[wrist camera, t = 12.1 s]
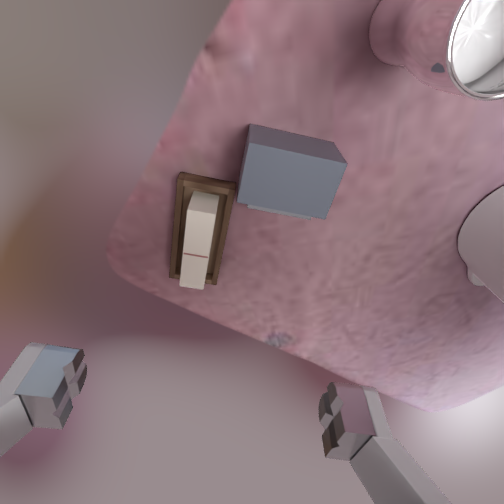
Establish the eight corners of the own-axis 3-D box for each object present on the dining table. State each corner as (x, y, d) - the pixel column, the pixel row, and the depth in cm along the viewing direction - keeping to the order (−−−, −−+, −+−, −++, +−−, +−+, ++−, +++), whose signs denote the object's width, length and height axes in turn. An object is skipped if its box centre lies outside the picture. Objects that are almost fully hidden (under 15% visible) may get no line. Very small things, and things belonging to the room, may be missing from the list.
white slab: (219, 195, 38) (215, 214, 34) (207, 267, 44) (203, 290, 40) (193, 190, 37) (187, 209, 34) (185, 263, 44) (179, 286, 40)
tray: (236, 182, 37) (235, 190, 36) (217, 275, 46) (216, 285, 44) (180, 171, 37) (177, 178, 35) (172, 268, 45) (169, 277, 43)
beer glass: (426, 73, 31) (540, 109, 19) (354, 67, 30) (422, 100, 18) (459, -23, 27) (631, -57, 14) (376, -30, 26) (481, -70, 14)
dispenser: (333, 142, 35) (347, 163, 29) (313, 198, 38) (322, 225, 33) (249, 123, 33) (249, 142, 28) (237, 183, 37) (235, 209, 32)
